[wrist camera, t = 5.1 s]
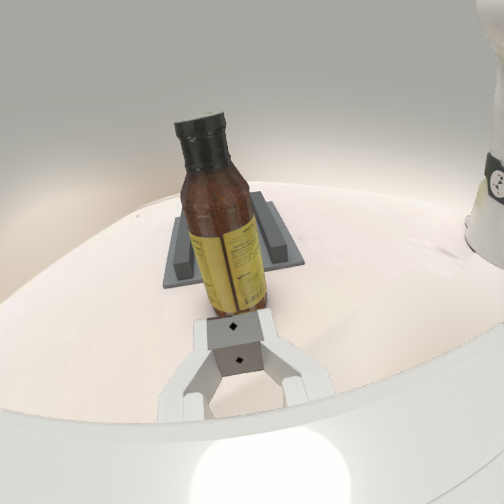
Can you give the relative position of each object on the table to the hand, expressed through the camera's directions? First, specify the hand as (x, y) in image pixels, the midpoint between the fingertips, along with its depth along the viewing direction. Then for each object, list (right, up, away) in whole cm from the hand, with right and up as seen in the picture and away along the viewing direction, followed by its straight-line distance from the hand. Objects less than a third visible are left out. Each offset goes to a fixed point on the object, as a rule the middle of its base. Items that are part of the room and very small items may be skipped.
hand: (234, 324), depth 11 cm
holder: (-3, +5, +33) cm, 33 cm away
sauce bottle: (-1, -3, +20) cm, 21 cm away
